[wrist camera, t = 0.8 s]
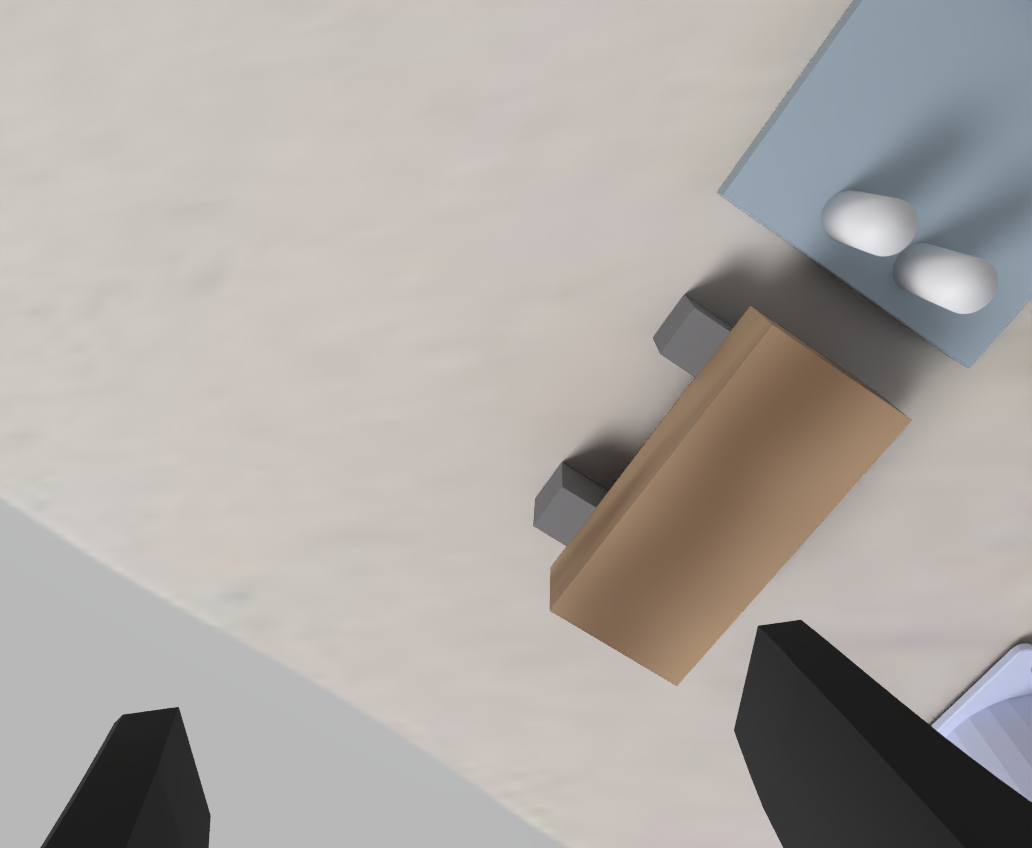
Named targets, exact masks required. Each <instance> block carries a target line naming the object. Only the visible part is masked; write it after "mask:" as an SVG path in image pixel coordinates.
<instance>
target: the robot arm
mask: <svg viewBox="0 0 1032 848" xmlns="http://www.w3.org/2000/svg"><path fill="white" fill-rule="evenodd" d="M734 732H735V734H736V737H737V740H738V743H739V745H740V748H741V751H742V754H743V756H744V759H745V762H746V765H747V767H748V770H749V773H750V775H751V778H752V780H753V783H754V786H755V788H756V791H757V793H758V796H759V798H760V801H761V803H762V806H763V808H764V810H765V812H766V814H767V816H768V818H769V820H770V822H771V824H772V826H773V828H774V830H775V832H776V834H777V836H778V838H779V840H780V842H781V844H782V846H783V848H1032V645H1031V644H1019V645H1016V646H1015V647H1013V648H1012V649H1011V650H1010V651H1009V652H1008V653H1007V654H1006V655H1005V656H1004V657H1003V658H1001V659H1000V660H999V661H998V662H997V663H996V664H995V665H994V666H993V667H992V668H991V669H990V670H989V671H988V672H987V673H986V674H985V675H984V676H983V677H982V678H981V679H980V680H978V681H977V682H976V683H975V684H974V685H973V686H972V687H971V688H970V689H969V690H968V691H967V692H966V693H965V694H964V695H963V696H962V697H961V698H960V699H959V700H958V701H957V702H955V703H954V704H953V705H952V706H951V707H950V708H949V709H948V710H947V711H946V712H945V713H944V714H943V715H942V716H941V717H940V718H939V719H938V720H937V721H936V722H935V723H933V724H932V725H931V726H930V725H929V724H928V723H926V722H925V721H924V720H923V719H921V718H920V717H919V716H918V715H916V714H915V713H914V712H913V711H912V710H910V709H909V708H908V707H907V706H905V705H904V704H903V703H902V702H900V701H899V700H898V699H897V698H896V697H894V696H893V695H892V694H891V693H889V692H888V691H887V690H886V689H885V688H883V687H882V686H881V685H880V684H878V683H877V682H876V681H875V680H874V679H872V678H871V677H870V676H869V675H868V674H866V673H865V672H864V671H863V670H862V669H860V668H859V667H858V666H857V665H856V664H854V663H853V662H852V661H851V660H850V659H848V658H847V657H846V656H845V655H843V654H842V653H841V652H840V651H839V650H837V649H836V648H835V647H834V646H833V645H831V644H830V643H829V642H828V641H827V640H825V639H824V638H823V637H822V636H820V635H819V634H818V633H817V632H816V631H814V630H813V629H812V628H811V627H809V626H808V625H807V624H806V623H804V622H803V621H802V620H796V621H789V622H782V623H775V624H768V625H761V626H758V628H757V633H756V637H755V641H754V646H753V650H752V654H751V659H750V663H749V667H748V672H747V676H746V680H745V685H744V689H743V694H742V698H741V702H740V707H739V711H738V715H737V720H736V724H735V728H734ZM209 831H210V812H209V809H208V805H207V802H206V799H205V795H204V792H203V788H202V785H201V782H200V779H199V775H198V771H197V768H196V765H195V761H194V758H193V754H192V751H191V748H190V744H189V741H188V737H187V734H186V730H185V727H184V724H183V720H182V717H181V713H180V710H179V707H176V708H168V709H160V710H153V711H146V712H140V713H132V714H125V715H122V716H121V717H120V718H119V719H118V720H117V721H116V722H115V723H114V725H113V727H112V729H111V730H110V732H109V734H108V736H107V737H106V739H105V741H104V743H103V745H102V746H101V748H100V750H99V751H98V753H97V755H96V757H95V758H94V760H93V762H92V763H91V765H90V767H89V769H88V770H87V772H86V774H85V776H84V777H83V779H82V781H81V782H80V784H79V786H78V787H77V789H76V791H75V793H74V794H73V796H72V797H71V799H70V801H69V803H68V804H67V806H66V807H65V809H64V811H63V812H62V814H61V815H60V817H59V819H58V820H57V822H56V823H55V825H54V827H53V829H52V830H51V832H50V833H49V835H48V836H47V838H46V840H45V841H44V843H43V845H42V846H41V848H208V847H209Z"/></svg>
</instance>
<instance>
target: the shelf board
mask: <svg viewBox="0 0 1032 848" xmlns="http://www.w3.org/2000/svg"><path fill="white" fill-rule="evenodd" d="M910 421H911V419H910V418H908V417H907V416H906V415H905V414H903V413H902V412H901V411H900V410H898V409H897V408H896V407H895V406H893V405H892V404H891V403H890V402H888V401H887V400H886V399H885V398H883V397H882V396H881V395H880V394H878V393H877V392H876V391H874V390H873V389H871V388H870V387H868V386H867V385H866V384H864V383H863V382H861V381H860V380H858V379H857V378H855V377H854V376H852V375H851V374H850V373H848V372H847V371H845V370H844V369H842V368H841V367H839V366H838V365H836V364H835V363H833V362H832V361H831V360H829V359H828V358H826V357H825V356H823V355H822V354H820V353H819V352H817V351H816V350H815V349H813V348H812V347H810V346H809V345H807V344H806V343H804V342H803V341H801V340H800V339H799V338H797V337H796V336H794V335H793V334H791V333H790V332H788V331H787V330H785V329H784V328H783V327H781V326H780V325H778V324H777V323H775V322H774V321H772V320H771V319H769V318H768V317H766V316H765V315H764V314H762V313H761V312H759V311H758V310H756V309H755V308H753V307H752V306H750V307H749V308H748V309H747V311H746V312H745V313H744V315H743V316H742V317H741V318H740V320H739V321H738V322H737V324H736V325H735V326H734V328H733V329H732V330H731V332H730V333H729V334H728V336H727V337H726V338H725V339H724V341H723V342H722V343H721V345H720V346H719V347H718V349H717V350H716V351H715V353H714V354H713V355H712V356H711V358H710V359H709V360H708V362H707V363H706V364H705V366H704V367H703V368H702V370H701V371H700V372H699V374H698V375H697V376H696V377H695V379H694V380H693V381H692V383H691V384H690V385H689V387H688V388H687V389H686V391H685V392H684V393H683V394H682V396H681V397H680V398H679V400H678V401H677V402H676V404H675V405H674V406H673V408H672V409H671V410H670V411H669V413H668V414H667V415H666V417H665V418H664V419H663V421H662V422H661V423H660V425H659V426H658V427H657V429H656V430H655V431H654V432H653V434H652V435H651V436H650V438H649V439H648V440H647V442H646V443H645V444H644V446H643V447H642V448H641V449H640V451H639V452H638V453H637V455H636V456H635V457H634V459H633V460H632V461H631V463H630V464H629V465H628V467H627V468H626V469H625V470H624V472H623V473H622V474H621V476H620V477H619V478H618V480H617V481H616V482H615V484H614V485H613V486H612V487H611V489H610V490H609V491H608V493H607V494H606V495H605V497H604V498H603V499H602V501H601V502H600V503H599V505H598V506H597V507H596V508H595V510H594V511H593V512H592V514H591V515H590V516H589V518H588V519H587V520H586V522H585V523H584V524H583V525H582V527H581V528H580V529H579V531H578V532H577V533H576V535H575V536H574V537H573V539H572V540H571V541H570V543H569V544H568V545H567V546H566V548H565V549H564V550H563V552H562V553H561V554H560V556H559V557H558V558H557V560H556V561H555V562H554V563H553V565H552V566H551V575H550V611H551V612H553V613H555V614H556V615H558V616H560V617H561V618H563V619H565V620H566V621H568V622H570V623H571V624H573V625H575V626H577V627H578V628H580V629H582V630H583V631H585V632H587V633H588V634H590V635H592V636H593V637H595V638H597V639H598V640H600V641H602V642H603V643H605V644H607V645H608V646H610V647H612V648H613V649H615V650H617V651H619V652H620V653H622V654H624V655H625V656H627V657H629V658H630V659H632V660H634V661H635V662H637V663H639V664H640V665H642V666H644V667H645V668H647V669H649V670H650V671H652V672H654V673H656V674H657V675H659V676H661V677H662V678H664V679H666V680H667V681H669V682H671V683H672V684H674V685H676V686H677V685H678V684H679V683H680V682H681V681H682V680H683V679H684V677H685V676H686V675H687V674H688V673H689V672H690V671H691V669H692V668H693V667H694V666H695V665H696V664H697V663H698V662H699V660H700V659H701V658H702V657H703V656H704V655H705V654H706V652H707V651H708V650H709V649H710V648H711V647H712V646H713V645H714V643H715V642H716V641H717V640H718V639H719V638H720V637H721V636H722V634H723V633H724V632H725V631H726V630H727V629H728V628H729V626H730V625H731V624H732V623H733V622H734V621H735V620H736V619H737V617H738V616H739V615H740V614H741V613H742V612H743V611H744V609H745V608H746V607H747V606H748V605H749V604H750V603H751V602H752V600H753V599H754V598H755V597H756V596H757V595H758V594H759V592H760V591H761V590H762V589H763V588H764V587H765V586H766V585H767V583H768V582H769V581H770V580H771V579H772V578H773V577H774V575H775V574H776V573H777V572H778V571H779V570H780V569H781V568H782V566H783V565H784V564H785V563H786V562H787V561H788V560H789V558H790V557H791V556H792V555H793V554H794V553H795V552H796V551H797V549H798V548H799V547H800V546H801V545H802V544H803V543H804V541H805V540H806V539H807V538H808V537H809V536H810V535H811V534H812V532H813V531H814V530H815V529H816V528H817V527H818V526H819V525H820V523H821V522H822V521H823V520H824V519H825V518H826V517H827V515H828V514H829V513H830V512H831V511H832V510H833V509H834V508H835V506H836V505H837V504H838V503H839V502H840V501H841V500H842V498H843V497H844V496H845V495H846V494H847V493H848V492H849V491H850V489H851V488H852V487H853V486H854V485H855V484H856V483H857V481H858V480H859V479H860V478H861V477H862V476H863V475H864V474H865V472H866V471H867V470H868V469H869V468H870V467H871V466H872V464H873V463H874V462H875V461H876V460H877V459H878V458H879V457H880V455H881V454H882V453H883V452H884V451H885V450H886V449H887V447H888V446H889V445H890V444H891V443H892V442H893V441H894V440H895V438H896V437H897V436H898V435H899V434H900V433H901V432H902V430H903V429H904V428H905V427H906V426H907V425H908V424H909V423H910Z"/></svg>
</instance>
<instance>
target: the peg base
mask: <svg viewBox="0 0 1032 848" xmlns="http://www.w3.org/2000/svg"><path fill="white" fill-rule="evenodd" d="M717 193H718V194H719V195H721V196H722V197H724V198H725V199H727V200H728V201H729V202H731V203H732V204H734V205H735V206H736V207H738V208H739V209H741V210H742V211H744V212H745V213H746V214H748V215H749V216H751V217H752V218H753V219H755V220H756V221H758V222H759V223H761V224H762V225H763V226H765V227H766V228H768V229H769V230H770V231H772V232H773V233H775V234H776V235H778V236H779V237H780V238H782V239H783V240H785V241H786V242H787V243H789V244H790V245H792V246H793V247H795V248H796V249H797V250H799V251H800V252H802V253H803V254H804V255H806V256H807V257H809V258H810V259H812V260H813V261H814V262H816V263H817V264H819V265H820V266H821V267H823V268H824V269H826V270H827V271H829V272H830V273H831V274H833V275H834V276H836V277H837V278H838V279H840V280H841V281H843V282H844V283H846V284H847V285H848V286H850V287H851V288H853V289H854V290H855V291H857V292H858V293H860V294H861V295H863V296H864V297H865V298H867V299H868V300H870V301H871V302H872V303H874V304H875V305H877V306H878V307H880V308H881V309H882V310H884V311H885V312H887V313H888V314H889V315H891V316H892V317H894V318H895V319H897V320H898V321H899V322H901V323H902V324H904V325H905V326H906V327H908V328H909V329H911V330H912V331H914V332H915V333H916V334H918V335H919V336H921V337H922V338H923V339H925V340H926V341H928V342H929V343H931V344H932V345H933V346H935V347H936V348H938V349H939V350H940V351H942V352H943V353H945V354H946V355H948V356H949V357H950V358H952V359H953V360H955V361H957V362H959V363H960V364H962V365H964V366H966V367H967V368H970V367H971V365H972V364H973V363H974V362H975V361H976V360H977V359H978V358H979V356H980V355H981V354H982V353H983V352H984V351H985V350H986V349H987V347H988V346H989V345H990V344H991V343H992V342H993V341H994V340H995V338H996V337H997V336H998V335H999V334H1000V333H1001V332H1002V331H1003V329H1004V328H1005V327H1006V326H1007V325H1008V324H1009V323H1010V322H1011V320H1012V319H1013V318H1014V317H1015V316H1016V315H1017V314H1018V313H1019V311H1020V310H1021V309H1022V308H1023V307H1024V306H1025V305H1026V304H1027V302H1028V301H1029V300H1030V299H1031V298H1032V0H854V1H853V2H852V3H851V5H850V6H849V8H848V9H847V10H846V12H845V13H844V15H843V16H842V17H841V19H840V20H839V22H838V23H837V24H836V26H835V27H834V29H833V30H832V32H831V33H830V34H829V36H828V37H827V39H826V40H825V41H824V43H823V44H822V46H821V47H820V48H819V50H818V51H817V53H816V54H815V55H814V57H813V58H812V60H811V61H810V62H809V64H808V65H807V67H806V68H805V69H804V71H803V72H802V74H801V75H800V77H799V78H798V79H797V81H796V82H795V84H794V85H793V86H792V88H791V89H790V91H789V92H788V93H787V95H786V96H785V98H784V99H783V100H782V102H781V103H780V105H779V106H778V107H777V109H776V110H775V112H774V113H773V114H772V116H771V117H770V119H769V120H768V121H767V123H766V124H765V126H764V127H763V129H762V130H761V131H760V133H759V134H758V136H757V137H756V138H755V140H754V141H753V143H752V144H751V145H750V147H749V148H748V150H747V151H746V152H745V154H744V155H743V157H742V158H741V159H740V161H739V162H738V164H737V165H736V166H735V168H734V169H733V171H732V172H731V173H730V175H729V176H728V178H727V179H726V181H725V182H724V183H723V185H722V186H721V188H720V189H719V190H718V192H717Z"/></svg>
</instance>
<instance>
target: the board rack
mask: <svg viewBox="0 0 1032 848" xmlns="http://www.w3.org/2000/svg"><path fill="white" fill-rule="evenodd" d="M732 329H733V328H732V327H731V326H730V325H728V324H727V323H725V322H724V321H722V320H721V319H719V318H718V317H716V316H715V315H713V314H712V313H710V312H709V311H707V310H706V309H705V308H703V307H702V306H700V305H699V304H697V303H696V302H694V301H693V300H691V299H690V298H688V297H687V296H685V295H684V296H683V297H682V298H681V300H680V301H679V302H678V304H677V305H676V307H675V308H674V309H673V311H672V312H671V313H670V315H669V316H668V317H667V319H666V320H665V322H664V323H663V324H662V326H661V327H660V328H659V330H658V331H657V333H656V334H655V335H654V337H653V339H654V342H655V344H656V346H657V348H658V350H659V352H660V354H661V355H663V356H664V357H666V358H667V359H669V360H670V361H672V362H673V363H675V364H676V365H678V366H679V367H681V368H682V369H684V370H685V371H687V372H688V373H690V374H691V375H693V376H694V377H696V376H697V375H698V374H699V372H700V371H701V370H702V368H703V367H704V366H705V364H706V363H707V362H708V360H709V359H710V358H711V356H712V355H713V354H714V353H715V351H716V350H717V349H718V347H719V346H720V345H721V343H722V342H723V341H724V339H725V338H726V337H727V336H728V334H729V333H730V332H731V330H732ZM607 493H608V491H607V490H606V489H604V488H603V487H601V486H599V485H598V484H596V483H595V482H593V481H591V480H590V479H588V478H587V477H585V476H584V475H582V474H580V473H579V472H577V471H576V470H574V469H572V468H571V467H569V466H568V465H566V464H564V463H563V462H562V463H561V464H560V466H559V467H558V468H557V470H556V471H555V472H554V474H553V475H552V476H551V478H550V479H549V481H548V482H547V483H546V485H545V486H544V487H543V489H542V490H541V492H540V493H539V494H538V496H537V497H536V498H535V509H534V523H533V526H534V527H536V528H538V529H539V530H541V531H543V532H544V533H546V534H548V535H549V536H551V537H552V538H554V539H556V540H557V541H559V542H561V543H562V544H564V545H566V546H567V545H568V544H569V543H570V541H571V540H572V539H573V537H574V536H575V535H576V533H577V532H578V531H579V529H580V528H581V527H582V525H583V524H584V523H585V522H586V520H587V519H588V518H589V516H590V515H591V514H592V512H593V511H594V510H595V508H596V507H597V506H598V505H599V503H600V502H601V501H602V499H603V498H604V497H605V495H606V494H607Z"/></svg>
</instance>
